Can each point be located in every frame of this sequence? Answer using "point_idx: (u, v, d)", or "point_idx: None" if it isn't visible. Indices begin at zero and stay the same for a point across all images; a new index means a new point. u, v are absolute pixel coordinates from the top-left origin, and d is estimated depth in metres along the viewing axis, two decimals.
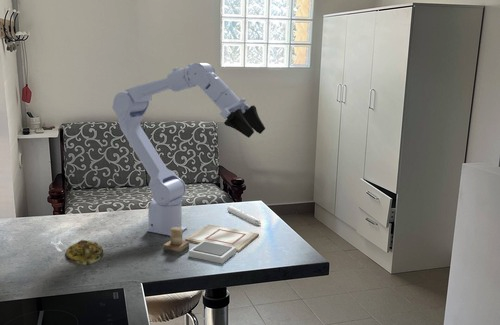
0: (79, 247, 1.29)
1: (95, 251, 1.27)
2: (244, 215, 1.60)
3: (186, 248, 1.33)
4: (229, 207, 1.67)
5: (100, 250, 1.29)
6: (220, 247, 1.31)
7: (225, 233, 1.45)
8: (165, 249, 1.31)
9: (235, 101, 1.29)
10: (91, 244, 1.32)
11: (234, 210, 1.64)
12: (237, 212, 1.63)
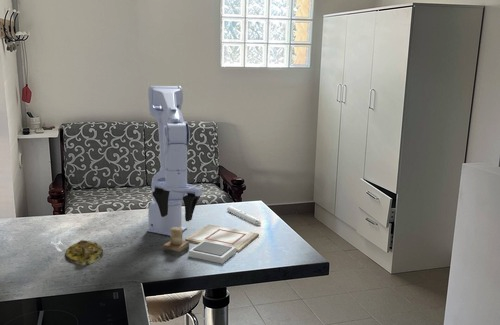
0: (79, 247, 1.29)
1: (95, 251, 1.27)
2: (244, 215, 1.60)
3: (186, 248, 1.33)
4: (229, 207, 1.67)
5: (100, 250, 1.29)
6: (220, 247, 1.31)
7: (225, 233, 1.45)
8: (165, 249, 1.31)
9: (166, 184, 1.28)
10: (91, 244, 1.32)
11: (234, 210, 1.64)
12: (237, 212, 1.63)
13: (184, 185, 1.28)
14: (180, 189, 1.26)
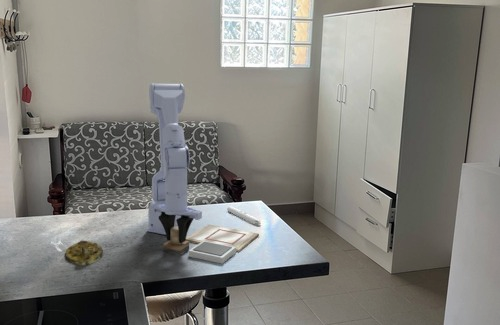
0: (79, 247, 1.29)
1: (94, 251, 1.27)
2: (244, 215, 1.60)
3: (186, 248, 1.33)
4: (229, 207, 1.67)
5: (100, 250, 1.29)
6: (220, 247, 1.31)
7: (225, 233, 1.45)
8: (165, 249, 1.31)
9: (166, 207, 1.29)
10: (91, 244, 1.32)
11: (234, 210, 1.64)
12: (237, 212, 1.63)
13: (184, 208, 1.29)
14: (180, 213, 1.28)
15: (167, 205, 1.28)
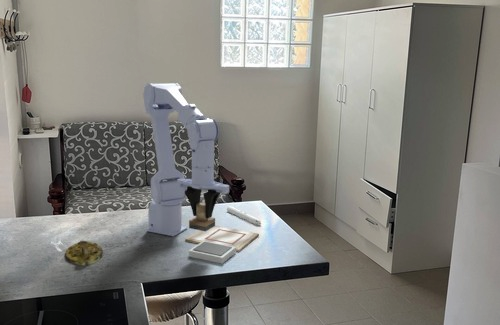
0: (79, 248, 1.29)
1: (94, 252, 1.27)
2: (244, 215, 1.60)
3: (212, 224, 1.30)
4: (229, 207, 1.67)
5: (100, 251, 1.29)
6: (220, 247, 1.31)
7: (225, 233, 1.45)
8: (191, 225, 1.28)
9: (192, 181, 1.26)
10: (91, 245, 1.31)
11: (234, 210, 1.64)
12: (237, 212, 1.63)
13: (211, 183, 1.26)
14: (207, 187, 1.24)
15: (194, 179, 1.25)
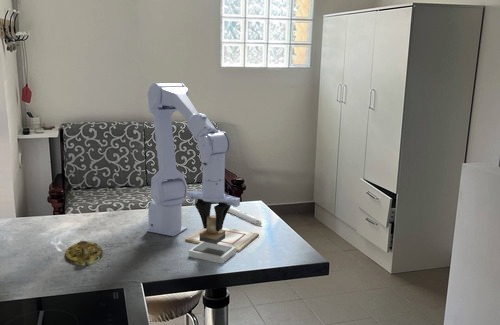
0: (78, 248, 1.29)
1: (94, 252, 1.27)
2: (244, 215, 1.60)
3: (222, 237, 1.30)
4: None
5: (100, 251, 1.29)
6: (220, 247, 1.31)
7: (225, 233, 1.45)
8: (201, 237, 1.28)
9: (203, 194, 1.26)
10: (91, 245, 1.31)
11: (234, 210, 1.64)
12: (237, 212, 1.63)
13: (222, 195, 1.26)
14: (218, 200, 1.24)
15: (204, 192, 1.25)
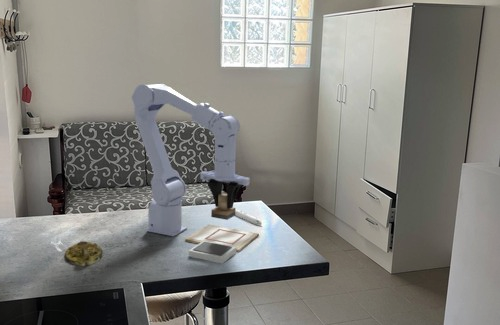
0: (78, 248, 1.29)
1: (94, 252, 1.27)
2: (244, 215, 1.60)
3: (233, 214, 1.38)
4: None
5: (100, 251, 1.28)
6: (220, 247, 1.31)
7: (225, 233, 1.45)
8: (213, 214, 1.37)
9: (215, 174, 1.35)
10: (91, 245, 1.31)
11: None
12: (237, 212, 1.63)
13: (233, 175, 1.35)
14: (229, 179, 1.33)
15: (216, 172, 1.34)
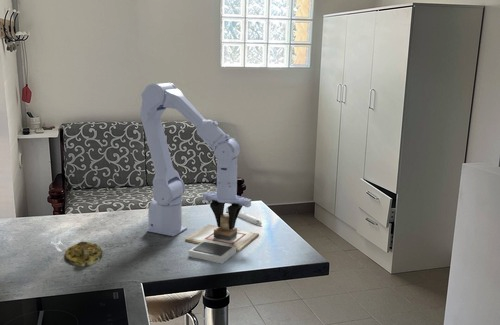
0: (78, 248, 1.29)
1: (94, 253, 1.26)
2: (244, 215, 1.60)
3: (234, 234, 1.42)
4: None
5: (100, 251, 1.28)
6: (220, 247, 1.31)
7: None
8: (215, 234, 1.40)
9: (217, 195, 1.38)
10: (90, 245, 1.31)
11: None
12: None
13: (234, 197, 1.38)
14: (231, 201, 1.37)
15: (219, 193, 1.38)
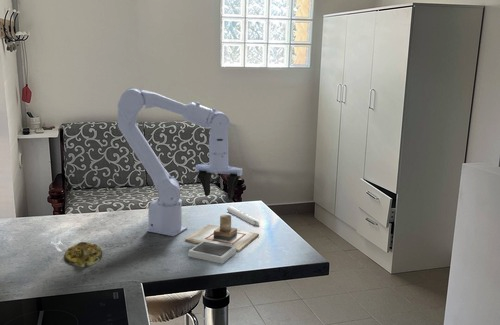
0: (78, 249, 1.28)
1: (94, 253, 1.26)
2: (243, 215, 1.59)
3: (234, 234, 1.42)
4: (229, 207, 1.67)
5: (99, 252, 1.28)
6: (220, 247, 1.31)
7: None
8: (215, 235, 1.40)
9: (210, 166, 1.44)
10: (90, 246, 1.31)
11: (234, 210, 1.64)
12: (236, 212, 1.63)
13: (226, 167, 1.45)
14: (224, 170, 1.43)
15: (211, 164, 1.44)
